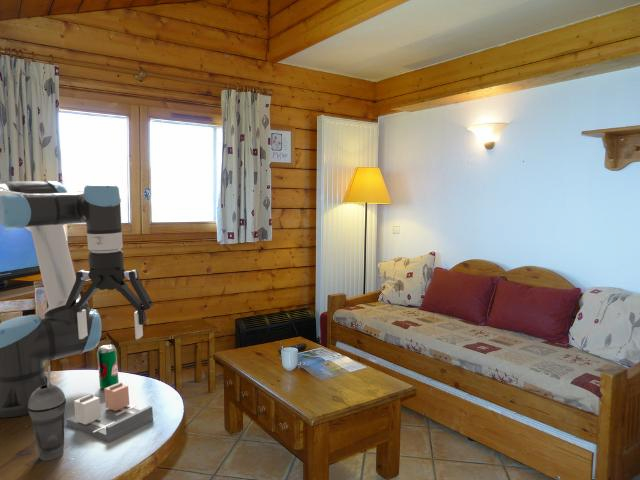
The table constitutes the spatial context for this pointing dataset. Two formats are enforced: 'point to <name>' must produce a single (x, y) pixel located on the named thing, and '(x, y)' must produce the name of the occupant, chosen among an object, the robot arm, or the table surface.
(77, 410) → the block
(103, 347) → the soda can
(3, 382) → the robot arm
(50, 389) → the beverage cup
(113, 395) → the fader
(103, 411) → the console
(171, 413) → the table surface
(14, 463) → the table surface
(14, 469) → the table surface
